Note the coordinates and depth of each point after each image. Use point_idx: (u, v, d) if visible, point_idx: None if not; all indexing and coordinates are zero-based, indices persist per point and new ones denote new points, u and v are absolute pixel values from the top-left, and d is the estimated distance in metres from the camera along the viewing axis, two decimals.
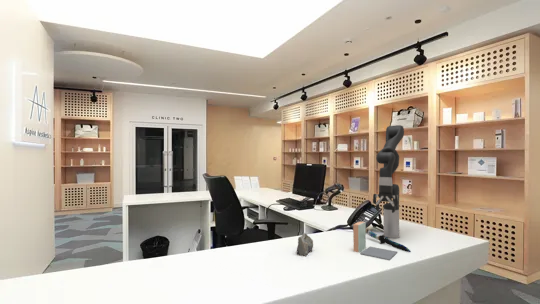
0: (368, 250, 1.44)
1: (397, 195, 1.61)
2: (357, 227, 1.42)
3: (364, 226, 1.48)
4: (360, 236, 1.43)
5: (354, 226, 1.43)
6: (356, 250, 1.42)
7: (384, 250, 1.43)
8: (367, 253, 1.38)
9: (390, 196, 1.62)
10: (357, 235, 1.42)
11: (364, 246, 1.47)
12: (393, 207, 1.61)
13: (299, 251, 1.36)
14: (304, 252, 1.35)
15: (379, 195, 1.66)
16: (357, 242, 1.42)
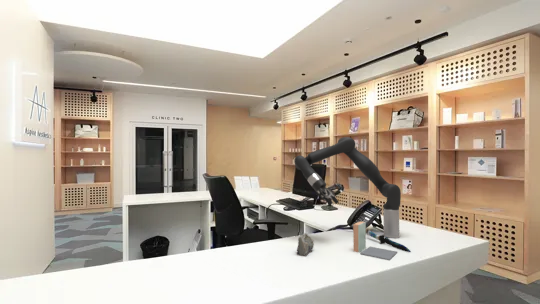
0: (368, 250, 1.44)
1: (318, 190, 1.55)
2: (357, 227, 1.42)
3: (364, 226, 1.48)
4: (360, 236, 1.43)
5: (354, 226, 1.43)
6: (356, 250, 1.42)
7: (384, 250, 1.43)
8: (367, 253, 1.38)
9: None
10: (357, 235, 1.42)
11: (364, 246, 1.47)
12: (326, 201, 1.54)
13: (299, 251, 1.36)
14: (304, 252, 1.34)
15: None
16: (357, 242, 1.42)
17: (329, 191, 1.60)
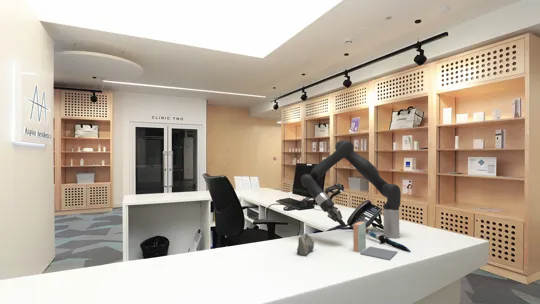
0: (368, 250, 1.44)
1: (329, 214, 1.51)
2: (357, 227, 1.42)
3: (364, 226, 1.48)
4: (360, 236, 1.43)
5: (354, 226, 1.43)
6: (356, 250, 1.42)
7: (384, 250, 1.43)
8: (367, 253, 1.38)
9: None
10: (357, 235, 1.42)
11: (364, 246, 1.47)
12: (339, 222, 1.53)
13: (299, 252, 1.36)
14: (304, 252, 1.34)
15: None
16: (357, 242, 1.42)
17: (337, 211, 1.56)
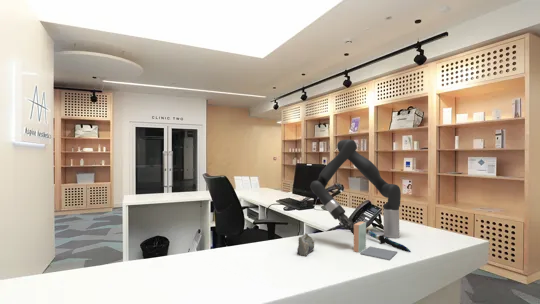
0: (368, 250, 1.44)
1: (341, 222, 1.47)
2: (357, 227, 1.42)
3: (364, 226, 1.48)
4: (360, 236, 1.43)
5: (354, 226, 1.43)
6: (356, 250, 1.42)
7: (384, 250, 1.43)
8: (367, 253, 1.38)
9: None
10: (357, 235, 1.42)
11: (364, 246, 1.47)
12: (350, 230, 1.49)
13: (299, 252, 1.36)
14: (304, 252, 1.34)
15: None
16: (357, 242, 1.42)
17: (348, 219, 1.51)
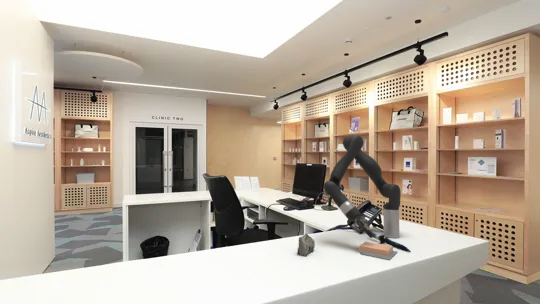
0: None
1: (357, 224, 1.41)
2: (384, 255, 1.33)
3: None
4: None
5: (385, 251, 1.33)
6: (360, 248, 1.41)
7: None
8: (367, 253, 1.38)
9: None
10: (376, 253, 1.36)
11: None
12: (366, 233, 1.43)
13: (299, 252, 1.36)
14: (304, 252, 1.34)
15: None
16: (368, 251, 1.38)
17: (363, 221, 1.46)
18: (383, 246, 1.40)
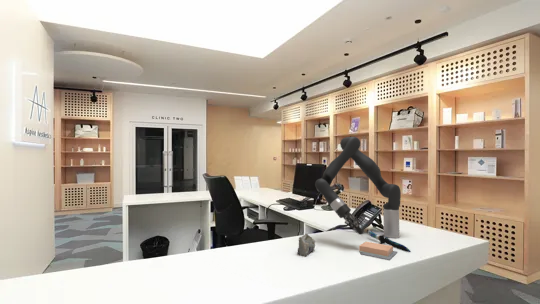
0: None
1: (347, 220, 1.44)
2: (384, 255, 1.33)
3: None
4: None
5: (385, 251, 1.33)
6: (360, 248, 1.41)
7: None
8: (367, 253, 1.38)
9: None
10: (376, 253, 1.36)
11: None
12: (356, 229, 1.46)
13: (299, 252, 1.36)
14: (304, 252, 1.34)
15: None
16: (368, 251, 1.38)
17: (353, 218, 1.49)
18: (383, 246, 1.40)
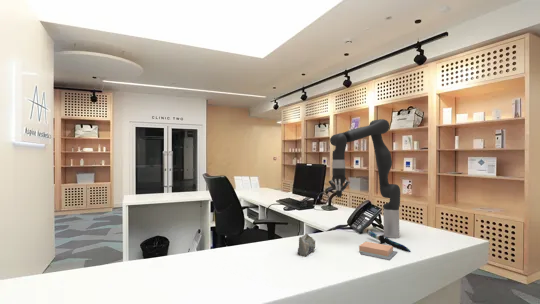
0: None
1: (349, 182, 1.58)
2: (384, 255, 1.33)
3: None
4: None
5: (385, 251, 1.33)
6: (360, 248, 1.41)
7: None
8: (367, 253, 1.38)
9: (343, 181, 1.58)
10: (376, 253, 1.36)
11: None
12: (339, 191, 1.60)
13: (299, 252, 1.36)
14: (304, 252, 1.34)
15: (333, 181, 1.62)
16: (368, 251, 1.38)
17: None
18: (383, 246, 1.40)
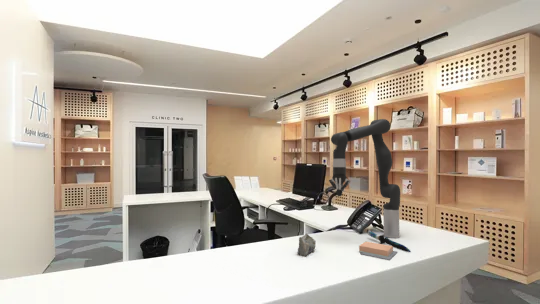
0: None
1: (349, 181, 1.58)
2: (384, 255, 1.33)
3: None
4: None
5: (385, 251, 1.33)
6: (360, 248, 1.41)
7: None
8: (367, 253, 1.38)
9: (343, 180, 1.58)
10: (376, 253, 1.36)
11: None
12: (340, 190, 1.59)
13: (299, 252, 1.36)
14: (304, 252, 1.34)
15: (333, 180, 1.62)
16: (368, 251, 1.38)
17: None
18: (383, 246, 1.40)
